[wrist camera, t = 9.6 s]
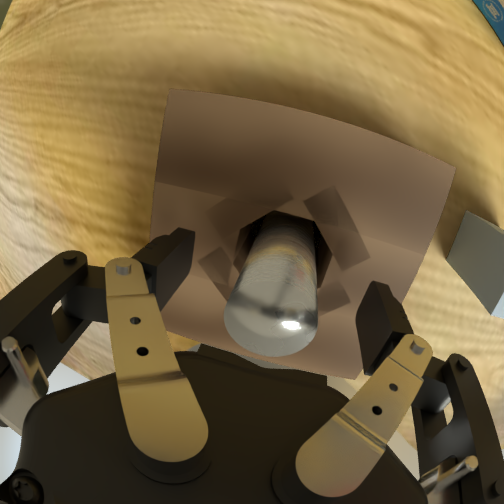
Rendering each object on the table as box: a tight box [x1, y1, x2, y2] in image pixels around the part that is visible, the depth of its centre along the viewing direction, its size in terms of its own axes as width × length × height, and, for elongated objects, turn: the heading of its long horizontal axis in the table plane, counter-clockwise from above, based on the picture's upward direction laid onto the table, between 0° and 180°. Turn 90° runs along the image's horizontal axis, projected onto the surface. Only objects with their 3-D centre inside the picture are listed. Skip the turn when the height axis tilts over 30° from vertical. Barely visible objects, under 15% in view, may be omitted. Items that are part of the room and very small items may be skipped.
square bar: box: [446, 210, 504, 319], centre depth 13 cm, size 4×4×7 cm
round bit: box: [224, 210, 318, 357], centre depth 14 cm, size 3×3×10 cm
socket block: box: [150, 89, 456, 380], centre depth 16 cm, size 14×14×5 cm
